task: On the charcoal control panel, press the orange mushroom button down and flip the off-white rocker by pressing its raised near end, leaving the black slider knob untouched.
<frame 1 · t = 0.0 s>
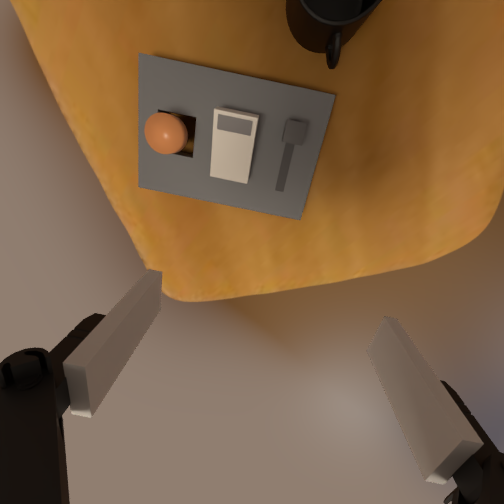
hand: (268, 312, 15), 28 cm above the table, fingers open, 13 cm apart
slider: (293, 132, 31), point 6 cm above the table, slide at 0.0 cm
mug: (325, 19, 31), on the table
panel: (232, 144, 37), on the table
rocker: (233, 147, 32), point 6 cm above the table, hinge at 15.0°
button: (171, 134, 32), point 5 cm above the table, slide at 0.0 cm
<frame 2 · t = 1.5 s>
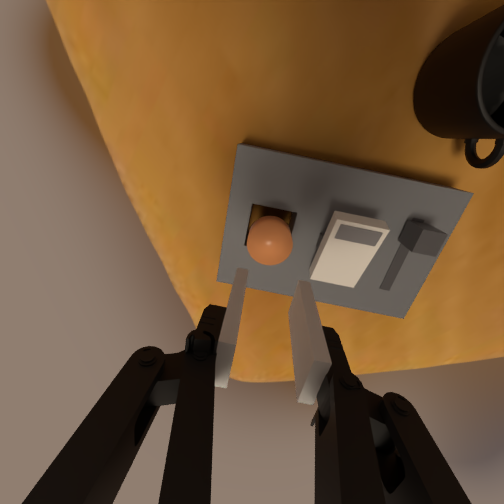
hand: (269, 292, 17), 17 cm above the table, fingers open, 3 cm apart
slider: (421, 237, 26), point 6 cm above the table, slide at 0.0 cm
mug: (458, 101, 26), on the table
panel: (324, 230, 32), on the table
rocker: (344, 252, 26), point 6 cm above the table, hinge at 15.0°
button: (269, 234, 27), point 6 cm above the table, slide at 0.0 cm
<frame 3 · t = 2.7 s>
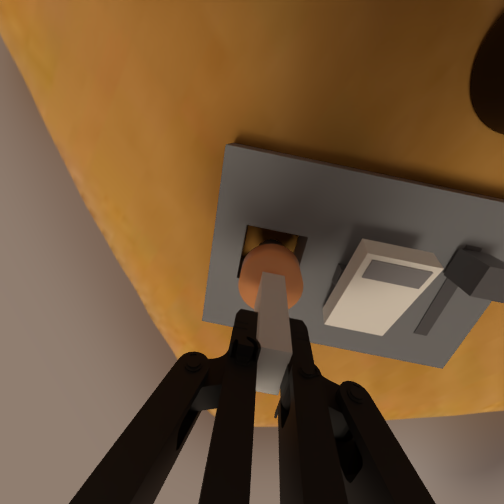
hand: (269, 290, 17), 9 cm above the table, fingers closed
slider: (480, 274, 19), point 6 cm above the table, slide at 0.0 cm
panel: (340, 254, 25), on the table
rocker: (373, 292, 19), point 6 cm above the table, hinge at 15.0°
button: (270, 267, 20), point 6 cm above the table, slide at 0.0 cm, touching gripper
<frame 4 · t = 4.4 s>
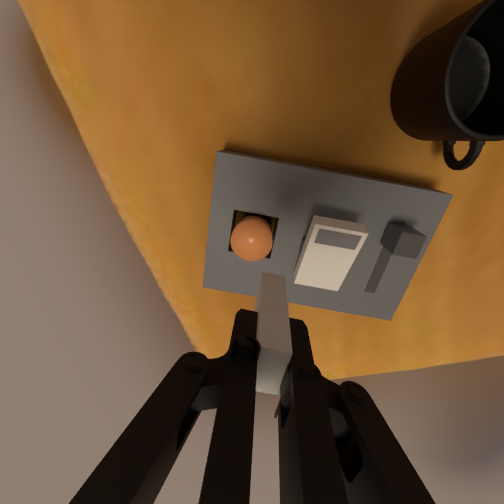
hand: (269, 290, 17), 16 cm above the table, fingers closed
slider: (402, 240, 26), point 6 cm above the table, slide at 0.0 cm
mug: (435, 103, 26), on the table
panel: (309, 233, 32), on the table
rocker: (326, 256, 26), point 6 cm above the table, hinge at 15.0°
button: (253, 232, 29), point 3 cm above the table, slide at 2.2 cm
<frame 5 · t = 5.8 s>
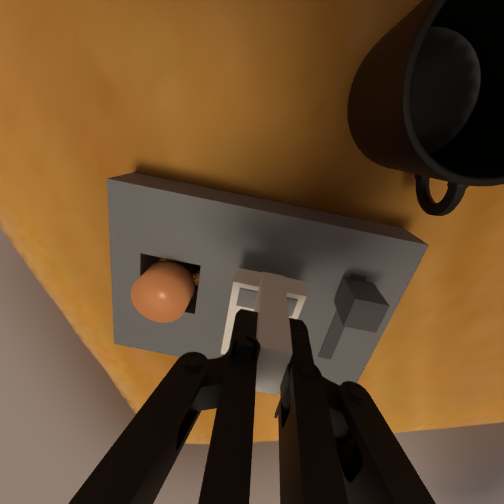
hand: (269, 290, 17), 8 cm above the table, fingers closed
slider: (359, 303, 19), point 6 cm above the table, slide at 0.0 cm
mug: (408, 120, 19), on the table
panel: (252, 278, 25), on the table
rocker: (259, 320, 20), point 6 cm above the table, hinge at 9.0°, touching gripper
button: (171, 281, 22), point 3 cm above the table, slide at 2.2 cm
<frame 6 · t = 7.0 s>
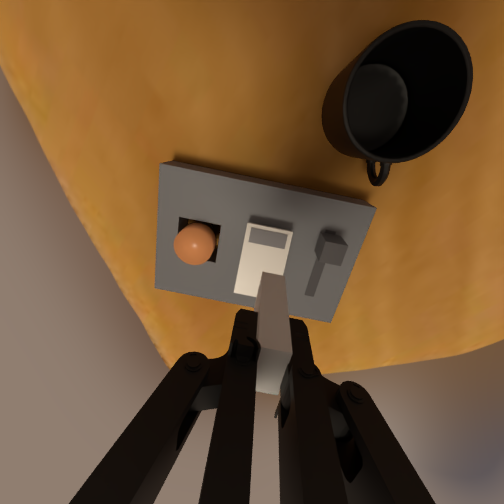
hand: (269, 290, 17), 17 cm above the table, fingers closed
slider: (330, 248, 28), point 6 cm above the table, slide at 0.0 cm
mug: (363, 124, 28), on the table
panel: (256, 240, 34), on the table
rocker: (262, 261, 29), point 6 cm above the table, hinge at -13.5°
button: (199, 238, 31), point 3 cm above the table, slide at 2.2 cm
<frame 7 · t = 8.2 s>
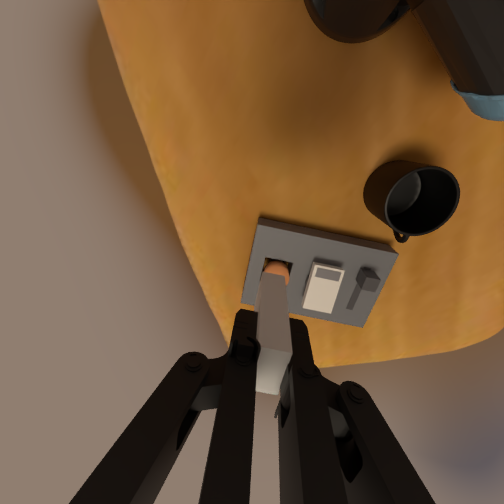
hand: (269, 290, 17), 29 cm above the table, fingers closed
slider: (367, 280, 43), point 6 cm above the table, slide at 0.0 cm
mug: (390, 197, 43), on the table
panel: (311, 269, 49), on the table
rocker: (322, 288, 43), point 6 cm above the table, hinge at -9.2°
button: (276, 270, 46), point 3 cm above the table, slide at 2.2 cm
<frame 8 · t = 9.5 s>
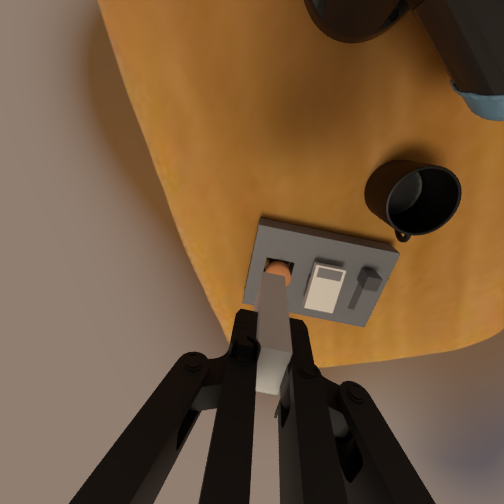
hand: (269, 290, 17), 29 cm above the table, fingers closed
slider: (369, 279, 43), point 6 cm above the table, slide at 0.0 cm
mug: (391, 197, 43), on the table
panel: (312, 269, 49), on the table
rocker: (323, 287, 43), point 6 cm above the table, hinge at -8.5°
button: (277, 270, 46), point 3 cm above the table, slide at 2.2 cm
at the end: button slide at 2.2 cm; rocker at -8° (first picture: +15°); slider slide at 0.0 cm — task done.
